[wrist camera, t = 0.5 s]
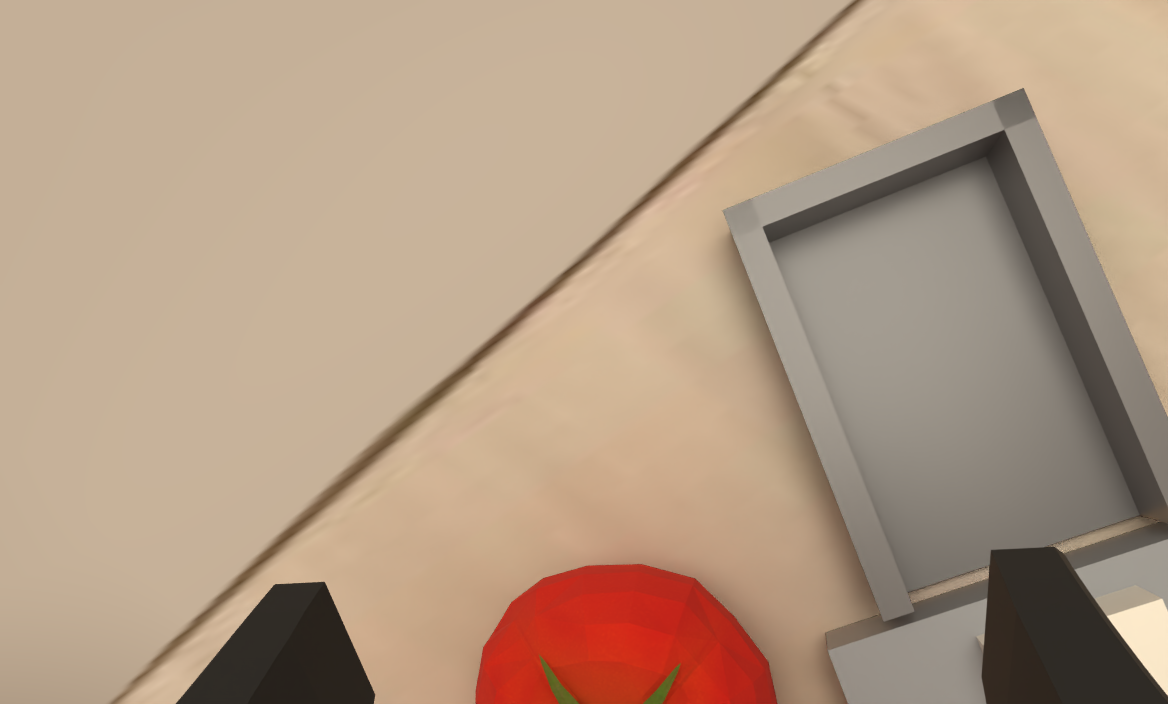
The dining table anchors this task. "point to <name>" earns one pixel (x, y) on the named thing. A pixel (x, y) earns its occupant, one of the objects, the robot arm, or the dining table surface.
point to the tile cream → (1138, 627)
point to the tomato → (621, 644)
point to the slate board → (972, 628)
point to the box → (955, 349)
